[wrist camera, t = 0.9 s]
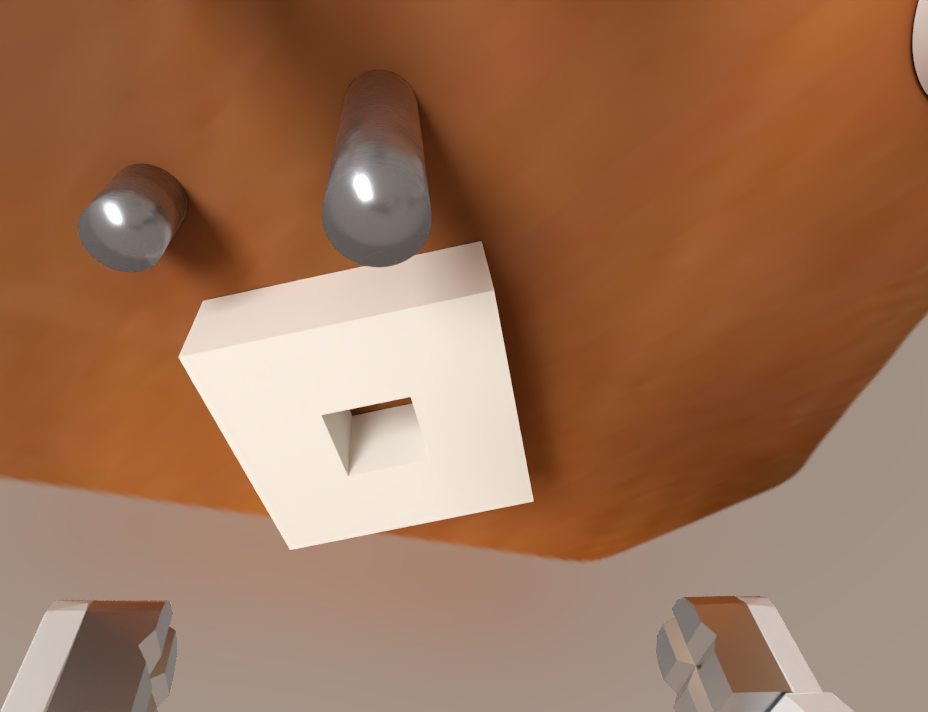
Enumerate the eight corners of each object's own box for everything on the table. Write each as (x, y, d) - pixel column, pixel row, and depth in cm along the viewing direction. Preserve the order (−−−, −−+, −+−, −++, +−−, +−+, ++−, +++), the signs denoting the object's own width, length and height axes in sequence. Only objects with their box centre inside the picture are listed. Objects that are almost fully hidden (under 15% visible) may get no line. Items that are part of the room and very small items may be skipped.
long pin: (408, 62, 34) (418, 155, 22) (425, 137, 36) (441, 255, 25) (334, 79, 34) (306, 179, 23) (355, 152, 36) (340, 276, 25)
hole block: (481, 240, 40) (494, 290, 35) (520, 442, 51) (533, 501, 46) (203, 300, 41) (178, 357, 36) (299, 487, 52) (290, 549, 47)
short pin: (168, 156, 35) (140, 192, 31) (199, 222, 38) (177, 263, 34) (98, 172, 36) (61, 209, 32) (134, 237, 38) (104, 279, 34)
